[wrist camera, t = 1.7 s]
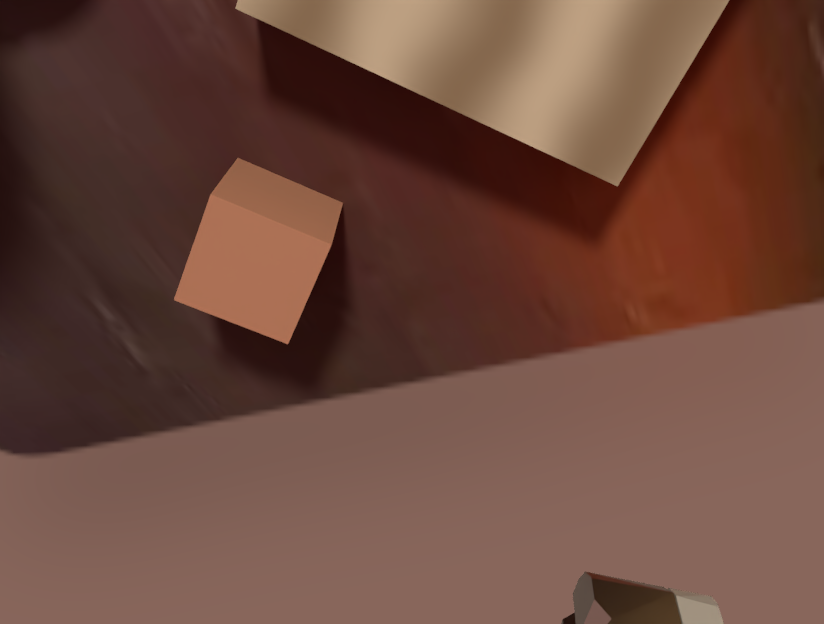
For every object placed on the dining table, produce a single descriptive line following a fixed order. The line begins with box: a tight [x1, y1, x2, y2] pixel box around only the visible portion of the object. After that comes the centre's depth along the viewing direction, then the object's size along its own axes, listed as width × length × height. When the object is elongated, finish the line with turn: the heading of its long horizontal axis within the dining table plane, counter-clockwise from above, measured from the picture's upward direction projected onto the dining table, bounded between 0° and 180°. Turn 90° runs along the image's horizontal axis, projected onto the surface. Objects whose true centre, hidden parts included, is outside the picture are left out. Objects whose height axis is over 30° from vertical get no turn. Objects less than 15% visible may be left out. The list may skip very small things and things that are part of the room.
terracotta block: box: [174, 158, 343, 344], centre depth 34 cm, size 5×5×5 cm
